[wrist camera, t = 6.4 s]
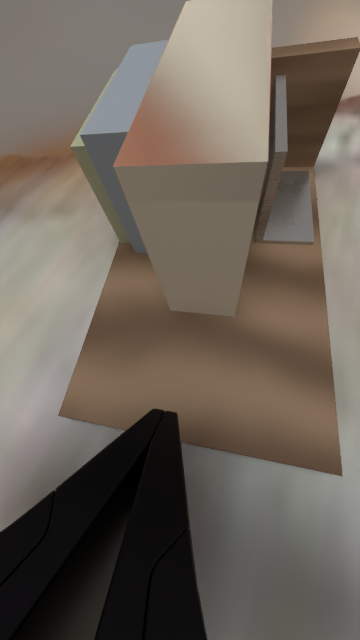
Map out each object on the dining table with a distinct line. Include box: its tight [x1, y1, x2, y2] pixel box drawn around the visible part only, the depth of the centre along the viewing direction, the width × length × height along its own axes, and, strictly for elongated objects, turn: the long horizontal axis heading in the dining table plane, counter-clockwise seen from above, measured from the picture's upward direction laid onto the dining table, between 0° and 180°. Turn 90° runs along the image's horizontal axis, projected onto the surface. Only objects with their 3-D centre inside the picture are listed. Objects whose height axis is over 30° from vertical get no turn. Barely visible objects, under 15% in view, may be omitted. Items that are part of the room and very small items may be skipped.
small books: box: [70, 40, 169, 253], centre depth 16 cm, size 10×5×8 cm, turn 170°
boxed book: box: [113, 0, 273, 317], centre depth 14 cm, size 14×4×10 cm, turn 170°
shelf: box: [58, 37, 360, 476], centre depth 14 cm, size 25×16×8 cm, turn 170°
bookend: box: [254, 75, 314, 245], centre depth 15 cm, size 8×4×6 cm, turn 170°
